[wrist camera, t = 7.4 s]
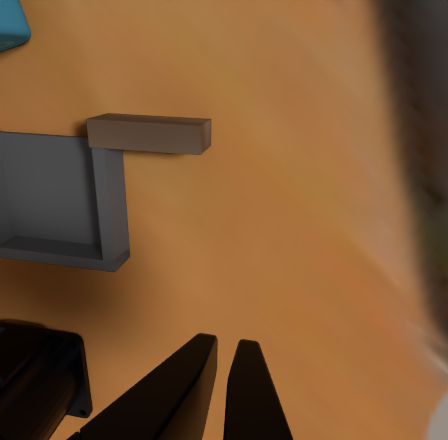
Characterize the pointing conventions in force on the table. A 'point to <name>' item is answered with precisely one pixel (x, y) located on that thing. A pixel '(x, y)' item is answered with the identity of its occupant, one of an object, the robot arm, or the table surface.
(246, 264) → the table surface
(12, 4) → the blue rounded slab
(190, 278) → the table surface
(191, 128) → the lane rails
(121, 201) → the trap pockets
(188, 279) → the table surface
